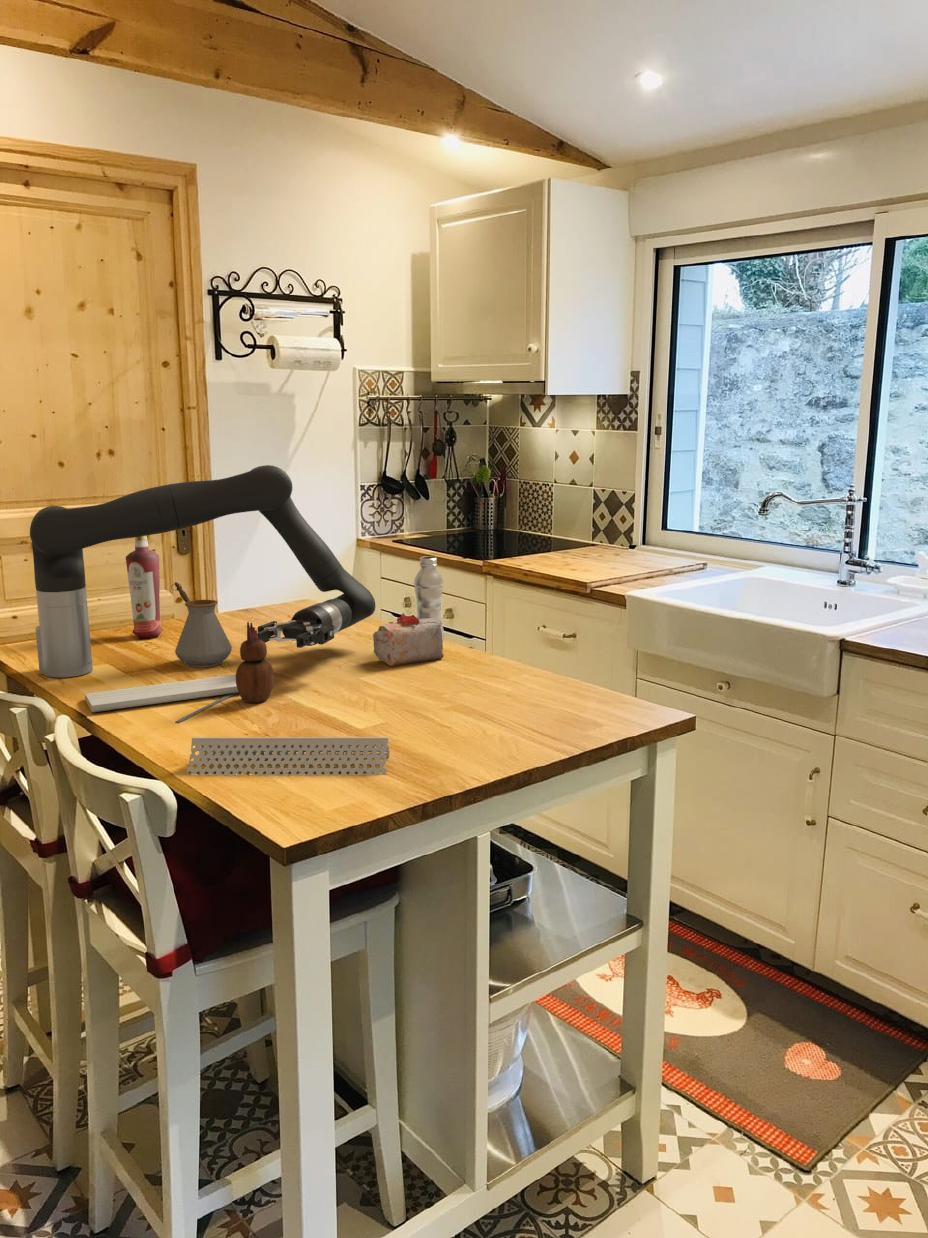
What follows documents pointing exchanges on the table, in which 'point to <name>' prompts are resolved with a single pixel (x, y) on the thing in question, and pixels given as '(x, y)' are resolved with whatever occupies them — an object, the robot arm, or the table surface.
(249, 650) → the wooden figurine
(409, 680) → the table surface
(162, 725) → the table surface
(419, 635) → the food item
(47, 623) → the robot arm
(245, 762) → the corner bead
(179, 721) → the thin grey rod
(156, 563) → the liquor
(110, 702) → the baseboard molding
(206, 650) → the coffee pot
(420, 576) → the plastic bottle
